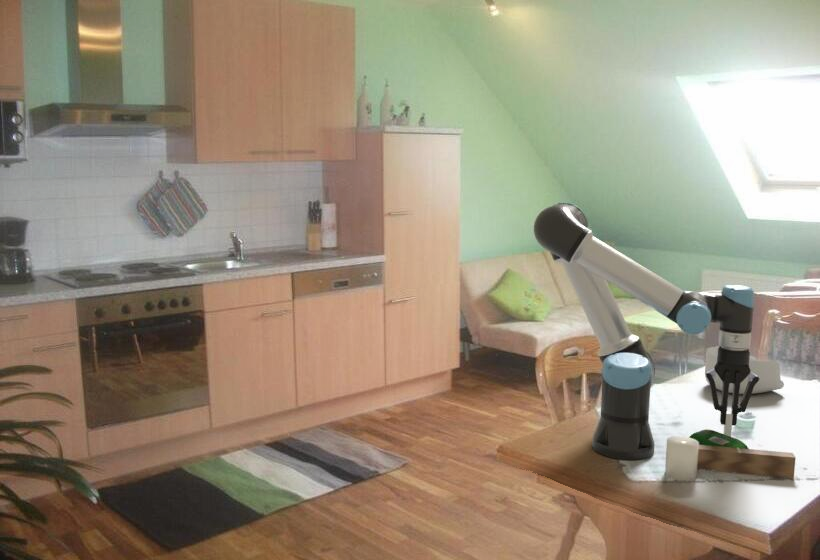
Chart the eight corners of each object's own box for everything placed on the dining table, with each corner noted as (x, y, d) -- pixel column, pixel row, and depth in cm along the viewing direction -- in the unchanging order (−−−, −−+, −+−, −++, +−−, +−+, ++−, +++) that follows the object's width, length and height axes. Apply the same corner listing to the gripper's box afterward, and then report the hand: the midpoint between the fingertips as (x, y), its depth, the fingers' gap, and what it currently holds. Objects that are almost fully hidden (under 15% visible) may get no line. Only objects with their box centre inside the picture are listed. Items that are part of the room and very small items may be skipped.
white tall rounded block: (665, 478, 188) (667, 445, 187) (664, 467, 195) (666, 434, 193) (698, 481, 186) (700, 448, 185) (695, 470, 193) (697, 437, 192)
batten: (692, 468, 194) (694, 448, 193) (691, 464, 197) (693, 443, 196) (793, 478, 188) (795, 457, 188) (791, 473, 191) (792, 452, 190)
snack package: (734, 470, 194) (736, 448, 193) (683, 448, 207) (684, 428, 206) (754, 464, 197) (756, 444, 196) (702, 443, 211) (704, 424, 210)
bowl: (691, 383, 265) (693, 347, 263) (740, 378, 270) (743, 343, 268) (732, 401, 246) (735, 363, 244) (785, 395, 252) (788, 358, 250)
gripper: (708, 348, 204) (701, 439, 208) (764, 352, 201) (756, 444, 205) (705, 341, 211) (699, 429, 215) (759, 345, 208) (752, 434, 212)
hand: (727, 436), depth 210 cm, fingers closed
